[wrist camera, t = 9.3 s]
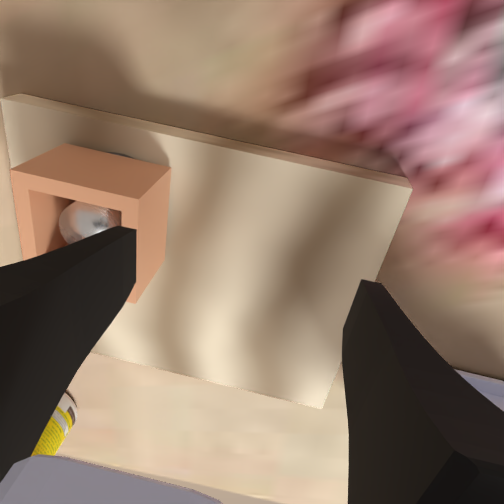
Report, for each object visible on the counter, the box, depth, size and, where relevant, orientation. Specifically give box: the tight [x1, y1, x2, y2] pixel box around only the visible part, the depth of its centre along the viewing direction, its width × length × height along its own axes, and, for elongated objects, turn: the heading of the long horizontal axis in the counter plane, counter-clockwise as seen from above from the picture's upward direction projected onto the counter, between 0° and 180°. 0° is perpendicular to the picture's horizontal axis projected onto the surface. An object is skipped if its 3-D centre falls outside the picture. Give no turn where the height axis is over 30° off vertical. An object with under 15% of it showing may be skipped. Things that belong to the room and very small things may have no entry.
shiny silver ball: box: [59, 152, 134, 244], centre depth 20 cm, size 5×5×5 cm
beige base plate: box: [0, 93, 413, 409], centre depth 23 cm, size 20×16×2 cm
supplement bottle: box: [31, 393, 77, 456], centre depth 29 cm, size 6×6×10 cm
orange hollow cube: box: [10, 143, 172, 304], centre depth 19 cm, size 5×5×5 cm
